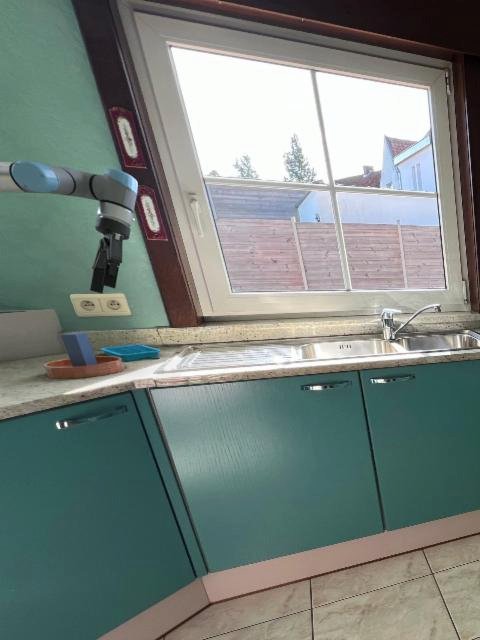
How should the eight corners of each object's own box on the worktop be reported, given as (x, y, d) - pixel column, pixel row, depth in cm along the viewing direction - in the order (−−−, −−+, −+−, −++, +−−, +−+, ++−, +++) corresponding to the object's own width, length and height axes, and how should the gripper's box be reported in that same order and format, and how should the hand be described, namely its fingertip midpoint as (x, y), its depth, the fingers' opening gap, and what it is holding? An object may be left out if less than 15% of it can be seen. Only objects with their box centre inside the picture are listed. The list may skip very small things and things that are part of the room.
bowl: (41, 383, 143) (36, 369, 142) (56, 371, 156) (51, 359, 155) (120, 376, 152) (116, 363, 151) (129, 366, 165) (125, 354, 164)
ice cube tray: (142, 352, 187) (139, 344, 186) (165, 358, 177) (162, 350, 176) (101, 356, 178) (98, 348, 176) (123, 364, 168) (120, 355, 167)
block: (75, 373, 152) (60, 334, 147) (86, 370, 156) (71, 332, 151) (89, 373, 152) (75, 334, 148) (100, 370, 156) (86, 332, 152)
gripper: (143, 220, 147) (131, 289, 146) (118, 235, 160) (107, 298, 159) (109, 207, 141) (96, 278, 139) (86, 224, 154) (74, 289, 153)
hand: (102, 289), depth 149 cm, fingers open, 13 cm apart
